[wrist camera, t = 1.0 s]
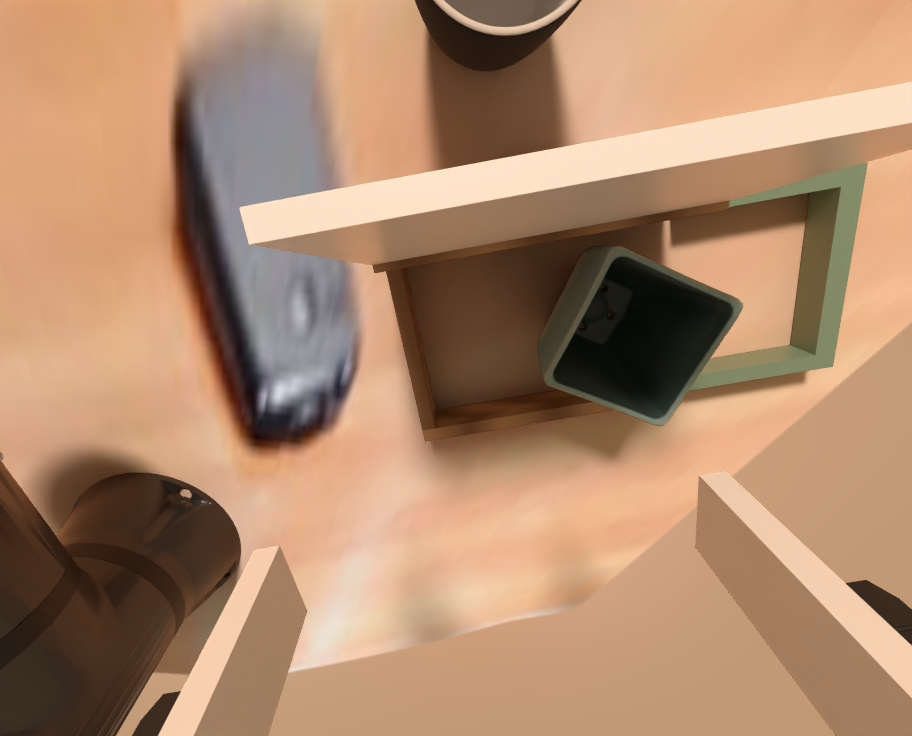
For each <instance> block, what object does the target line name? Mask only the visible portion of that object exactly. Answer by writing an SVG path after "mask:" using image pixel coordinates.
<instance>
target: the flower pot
mask: <svg viewBox="0 0 912 736" xmlns="http://www.w3.org/2000/svg"><path fill="white" fill-rule="evenodd" d="M601 285H605V286H606V289H605V290H604V291H600V290H599V287H600V286H601ZM742 308H743V303H742V302H741V301H740V300H739V299H737V298H736V297H733V296H731V295H728V294H726V293H724V292H721V291H719V290H717V289H715V288H712V287H710V286H707V285H705V284H703V283H701V282H698V281H696V280H694V279H692V278H689V277H687V276H685V275H683V274H680V273H678V272H676V271H674V270H672V269H670V268H668V267H665V266H663V265H661V264H659V263H657V262H655V261H652V260H650V259H648V258H646V257H644V256H642V255H640V254H638V253H635V252H633V251H632V250H629V249H627V248H625V247H622V246H594V247H590V248H588V249H586V250H585V251H584V252H583V253H582V255H581V256H580V258H579V260H578V261H577V263H576V265H575V268H574V270H573V272H572V274H571V276H570V278H569V280H568V281H567V283H566V285H565V287H564V289H563V291H562V293H561V295H560V297H559V299H558V301H557V303H556V305H555V307H554V309H553V311H552V313H551V315H550V317H549V319H548V321H547V323H546V325H545V327H544V328H543V331H542V333H541V335H540V338H539V341H538V348H537V349H538V357H539V362H540V366H541V370H542V375H543V379H544V382H545V383H546V385H548V386H550V387H553V388H556V389H558V390H562V391H564V392H567V393H570V394H573V395H575V396H578V397H581V398H584V399H587V400H589V401H592V402H595V403H598V404H600V405H603V406H606V407H609V408H611V409H614V410H617V411H619V412H622V413H625V414H627V415H630V416H632V417H635V418H638V419H640V420H642V421H645V422H647V423H650V424H652V425H657V426H662V425H665V424H666V423H667V422H668V421H669V419H670V418H671V417H672V416H673V414H674V412H675V411H676V409H677V408H678V406H679V404H680V403H681V401H682V400H683V398H684V397H685V395H686V394H687V392H688V391H689V389H690V388H691V386H692V385H693V383H694V382H695V380H696V379H697V377H698V375H699V374H700V373H701V371H702V370H703V368H704V367H705V365H706V364H707V363H708V361H709V359H710V358H711V356H712V355H713V353H714V352H715V350H716V349H717V348H718V346H719V345H720V343H721V342H722V340H723V338H724V337H725V336H726V334H727V333H728V331H729V330H730V329H731V327H732V326H733V324H734V322H735V321H736V320H737V318H738V316H739V314H740V312H741V310H742ZM608 312H613V316H612V317H611V318H608V317H607V314H608ZM580 323H584V324H585V327H584V328H583V329H580V328H579V324H580Z"/></svg>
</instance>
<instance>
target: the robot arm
mask: <svg viewBox="0 0 912 736" xmlns="http://www.w3.org/2000/svg"><path fill="white" fill-rule="evenodd" d="M1 460H3V455H2V453H1V452H0V736H116V735H117V733H118V731H119V729H120V728H121V726H122V724H123V722H124V721H125V719H126V717H127V716H128V714H129V712H130V711H131V709H132V707H133V706H134V704H135V702H136V700H137V699H138V697H139V695H140V694H141V692H142V690H143V689H144V687H145V685H146V683H147V682H148V680H149V678H150V677H151V675H152V673H153V671H154V670H155V668H156V666H157V665H158V663H159V661H160V659H161V658H162V656H163V654H164V653H165V651H166V649H167V648H168V646H169V644H170V642H171V641H172V639H173V637H174V636H175V634H176V632H177V631H178V629H179V628H180V626H181V624H182V623H183V621H184V620H185V619H186V618H187V617H188V616H189V615H190V614H191V613H192V612H193V611H194V610H196V609H197V608H198V607H199V606H200V605H201V604H202V603H203V602H204V601H205V600H206V599H208V598H209V597H210V596H211V595H212V594H213V593H214V592H215V591H216V589H218V588H219V587H221V586H222V585H223V584H224V583H225V582H226V581H227V580H228V579H229V578H230V577H231V576H232V574H233V573H234V572H235V570H236V568H237V566H238V563H239V560H240V555H241V544H240V538H239V534H238V531H237V529H236V527H235V525H234V523H233V521H232V520H231V518H230V517H229V515H228V514H227V513H226V511H225V510H224V509H223V508H222V507H221V506H220V505H219V504H218V503H217V502H216V501H215V500H213V499H212V498H211V497H210V496H208V495H207V494H206V493H204V492H202V491H201V490H199V489H197V488H196V487H194V486H192V485H190V484H188V483H185V482H183V481H180V480H177V479H174V478H171V477H167V476H163V475H158V474H151V473H126V474H120V475H115V476H111V477H108V478H106V479H103V480H101V481H99V482H97V483H95V484H94V485H92V486H91V487H89V488H88V489H87V490H86V491H85V492H84V493H83V494H82V495H81V496H80V498H79V499H78V501H77V502H76V504H75V507H74V509H73V511H72V513H71V515H70V516H69V518H68V519H67V521H66V523H65V524H64V526H63V527H62V529H61V531H60V532H59V534H58V536H57V537H56V535H55V534H54V533H53V531H52V530H51V528H50V527H49V526H48V524H47V523H46V522H45V520H44V519H43V518H42V516H41V515H40V513H39V512H38V511H37V509H36V508H35V507H34V505H33V504H32V502H31V501H30V500H29V498H28V497H27V496H26V494H25V493H24V492H23V490H22V489H21V487H20V486H19V485H18V483H17V482H16V481H15V479H14V478H13V477H12V475H11V474H10V472H9V471H8V470H7V468H6V467H5V466H4V464H3V463H2V461H1ZM180 488H184V489H188V490H190V492H191V494H192V497H191V498H187V497H183V496H181V495H180V494H179V492H178V489H180ZM695 548H696V549H697V550H698V552H699V553H700V554H701V556H702V557H703V558H704V560H705V561H706V562H707V564H708V565H709V566H710V568H711V569H712V570H713V572H714V573H715V574H716V576H717V577H718V578H719V580H720V581H721V582H722V584H723V585H724V586H725V588H726V589H727V590H728V592H729V593H730V595H731V596H732V597H733V599H734V600H735V601H736V603H737V604H738V605H739V607H740V608H741V609H742V611H744V613H745V615H746V616H747V617H748V619H749V620H750V621H751V623H752V624H753V625H754V627H755V628H756V629H757V631H758V632H759V633H760V635H761V636H762V637H763V639H764V640H765V641H766V643H767V644H768V645H769V647H770V648H771V649H772V651H773V652H774V653H775V655H776V656H777V657H778V659H779V660H780V662H781V663H782V664H783V666H784V667H785V668H786V670H787V671H788V672H789V673H790V675H791V676H792V678H793V679H794V680H795V682H796V683H797V684H798V686H799V687H800V688H801V690H802V691H803V692H804V694H805V695H806V696H807V698H808V699H809V700H810V701H811V703H812V704H813V706H814V707H815V708H816V710H817V711H818V712H819V714H820V715H821V716H822V718H823V719H824V720H825V722H826V723H827V724H828V725H829V727H830V729H831V730H832V731H833V733H834V734H835V735H836V736H912V609H910V608H909V607H908V606H907V605H906V604H905V603H903V602H902V601H901V600H900V599H899V598H897V597H895V596H893V595H892V594H890V593H888V592H886V591H885V590H883V589H881V588H879V587H878V586H876V585H874V584H872V583H871V582H869V581H867V580H863V581H857V582H851V583H844V582H843V581H842V580H841V579H840V578H839V577H838V576H837V575H836V574H835V573H834V572H833V571H832V570H831V569H829V568H828V567H827V566H826V565H825V564H824V563H823V562H822V561H821V560H820V559H819V558H818V557H817V556H816V555H815V554H813V553H812V552H811V551H810V550H809V549H808V548H807V547H806V546H805V545H804V544H803V543H802V542H801V541H800V540H798V539H797V538H796V537H795V536H794V535H793V534H792V533H791V532H790V531H789V530H788V529H787V528H786V527H784V525H783V524H781V523H780V522H779V521H778V520H777V519H776V518H775V517H774V516H773V515H772V514H771V513H770V512H769V511H768V510H766V509H765V508H764V507H763V506H762V505H761V504H760V503H759V502H758V501H757V500H756V499H755V498H754V497H753V496H752V495H750V494H749V493H748V492H747V491H746V490H745V489H744V488H743V487H742V486H741V485H740V484H739V483H738V482H737V481H736V480H734V479H733V478H732V477H731V476H730V475H729V474H728V473H727V472H726V471H722V472H716V473H710V474H704V475H699V486H698V505H697V525H696V545H695ZM228 570H229V571H230V574H226V572H227V571H228ZM306 613H307V609H306V607H305V605H304V602H303V600H302V598H301V595H300V593H299V590H298V588H297V586H296V583H295V581H294V578H293V576H292V574H291V571H290V569H289V567H288V564H287V562H286V559H285V557H284V555H283V552H282V550H281V548H280V545H279V546H273V547H267V548H261V549H255V550H254V552H253V553H252V555H251V557H250V559H249V561H248V563H247V565H246V567H245V569H244V571H243V573H242V575H241V577H240V579H239V580H238V582H237V584H236V586H235V588H234V590H233V592H232V594H231V596H230V598H229V600H228V602H227V604H226V606H225V608H224V609H223V611H222V613H221V615H220V617H219V619H218V621H217V623H216V625H215V627H214V629H213V631H212V633H211V635H210V636H209V638H208V640H207V642H206V644H205V646H204V648H203V650H202V652H201V654H200V656H199V658H198V660H197V662H196V663H195V665H194V667H193V669H192V671H191V673H190V675H189V677H188V679H187V681H186V683H185V685H184V687H183V689H182V690H181V691H179V692H174V693H167V694H163V695H162V696H161V698H160V699H159V700H158V701H157V702H156V703H155V705H154V706H153V707H152V708H151V709H150V710H149V712H148V713H147V714H146V715H145V716H144V717H143V719H142V720H141V721H140V723H139V724H138V726H137V728H136V730H135V731H134V733H133V735H132V736H268V734H269V731H270V728H271V725H272V722H273V718H274V715H275V712H276V709H277V705H278V702H279V699H280V696H281V693H282V690H283V686H284V683H285V680H286V677H287V674H288V670H289V667H290V664H291V661H292V658H293V655H294V651H295V648H296V645H297V642H298V639H299V635H300V632H301V629H302V626H303V623H304V619H305V616H306Z"/></svg>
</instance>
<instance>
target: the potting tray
mask: <svg viewBox="0 0 912 736" xmlns="http://www.w3.org/2000/svg"><path fill="white" fill-rule="evenodd" d="M866 169H867V163H861V164H858V165H854V166H851V167H847V168H844V169H840V170H837V171H833V172H830V173H826V174H822V175H819V176H815V177H812V178H808V179H805V180H801V181H798V182H794V183H791V184H787V185H784V186H780V187H777V188H773V189H770V190H766V191H763V192H759V193H755V194H752V195H748V196H745V197H741V198H738V199H734V200H730V203H729V207H732V206H737V205H743V204H748V203H754V202H759V201H765V200H770V199H776V198H781V197H787V196H793V195H798V194H804V193H809V192H810V195H809V203H808V211H807V219H806V227H805V234H804V242H803V250H802V258H801V266H800V273H799V281H798V289H797V297H796V305H795V312H794V320H793V328H792V336H791V344H790V345H788V346H782V347H776V348H770V349H764V350H758V351H752V352H746V353H740V354H735V355H729V356H723V357H717V358H711V359H709V361H708V363H707V364H706V365H705V367H704V368H703V370H702V371H701V373H700V374H699V375H698V377H697V379H696V380H695V382H694V383H693V385H692V386H691V388H690V389H689V391H690V390H696V389H702V388H708V387H714V386H720V385H726V384H732V383H738V382H744V381H750V380H756V379H762V378H768V377H774V376H780V375H786V374H791V373H797V372H803V371H809V370H815V369H821V368H827V367H833V363H834V357H835V351H836V345H837V339H838V333H839V327H840V322H841V316H842V310H843V304H844V298H845V292H846V286H847V281H848V275H849V269H850V263H851V257H852V251H853V245H854V240H855V234H856V228H857V222H858V216H859V210H860V204H861V199H862V193H863V187H864V181H865V175H866Z"/></svg>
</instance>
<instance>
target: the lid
mask: <svg viewBox="0 0 912 736" xmlns="http://www.w3.org/2000/svg"><path fill="white" fill-rule="evenodd" d="M911 149H912V82H908V83H903V84H897V85H892V86H887V87H881V88H876V89H870V90H865V91H860V92H854V93H849V94H844V95H838V96H833V97H828V98H822V99H817V100H812V101H806V102H801V103H795V104H790V105H785V106H779V107H774V108H769V109H763V110H758V111H753V112H747V113H742V114H737V115H731V116H726V117H720V118H715V119H710V120H704V121H699V122H694V123H688V124H683V125H678V126H672V127H667V128H662V129H656V130H651V131H645V132H640V133H635V134H629V135H624V136H619V137H613V138H608V139H603V140H597V141H592V142H586V143H581V144H576V145H570V146H565V147H560V148H554V149H549V150H544V151H538V152H533V153H528V154H522V155H517V156H511V157H506V158H501V159H495V160H490V161H485V162H479V163H474V164H469V165H463V166H458V167H453V168H447V169H442V170H436V171H431V172H426V173H420V174H415V175H410V176H404V177H399V178H394V179H388V180H383V181H378V182H372V183H367V184H361V185H356V186H351V187H345V188H340V189H335V190H329V191H324V192H319V193H313V194H308V195H303V196H297V197H292V198H286V199H281V200H276V201H270V202H265V203H260V204H254V205H249V206H244V207H239V208H240V212H241V216H242V220H243V223H244V227H245V231H246V235H247V239H248V242H249V245H255V246H261V247H267V248H272V249H278V250H284V251H290V252H296V253H302V254H308V255H314V256H320V257H326V258H332V259H338V260H344V261H350V262H356V263H362V264H367V265H375V264H381V263H386V262H392V261H397V260H403V259H408V258H414V257H420V256H425V255H431V254H436V253H442V252H447V251H453V250H458V249H464V248H469V247H475V246H480V245H486V244H491V243H497V242H503V241H508V240H514V239H519V238H525V237H530V236H536V235H541V234H547V233H552V232H558V231H563V230H569V229H574V228H580V227H586V226H591V225H597V224H602V223H608V222H613V221H619V220H624V219H630V218H635V217H641V216H646V215H652V214H657V213H663V212H669V211H674V210H680V209H685V208H691V207H696V206H702V205H707V204H713V203H718V202H724V201H729V200H734V199H738V198H741V197H745V196H748V195H752V194H755V193H759V192H763V191H766V190H770V189H773V188H777V187H780V186H784V185H787V184H791V183H794V182H798V181H801V180H805V179H808V178H812V177H815V176H819V175H822V174H826V173H830V172H833V171H837V170H840V169H844V168H847V167H851V166H854V165H858V164H861V163H865V162H868V161H872V160H875V159H879V158H882V157H886V156H890V155H893V154H897V153H900V152H904V151H907V150H911Z"/></svg>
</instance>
